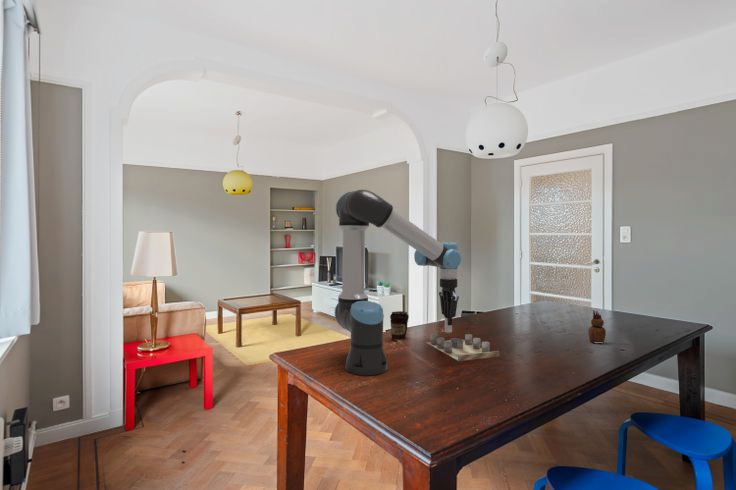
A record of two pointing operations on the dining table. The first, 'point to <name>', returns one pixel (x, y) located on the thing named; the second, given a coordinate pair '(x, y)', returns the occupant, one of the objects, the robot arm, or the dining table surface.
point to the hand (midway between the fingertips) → (448, 332)
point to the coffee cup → (398, 325)
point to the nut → (457, 343)
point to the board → (467, 351)
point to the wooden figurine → (597, 329)
